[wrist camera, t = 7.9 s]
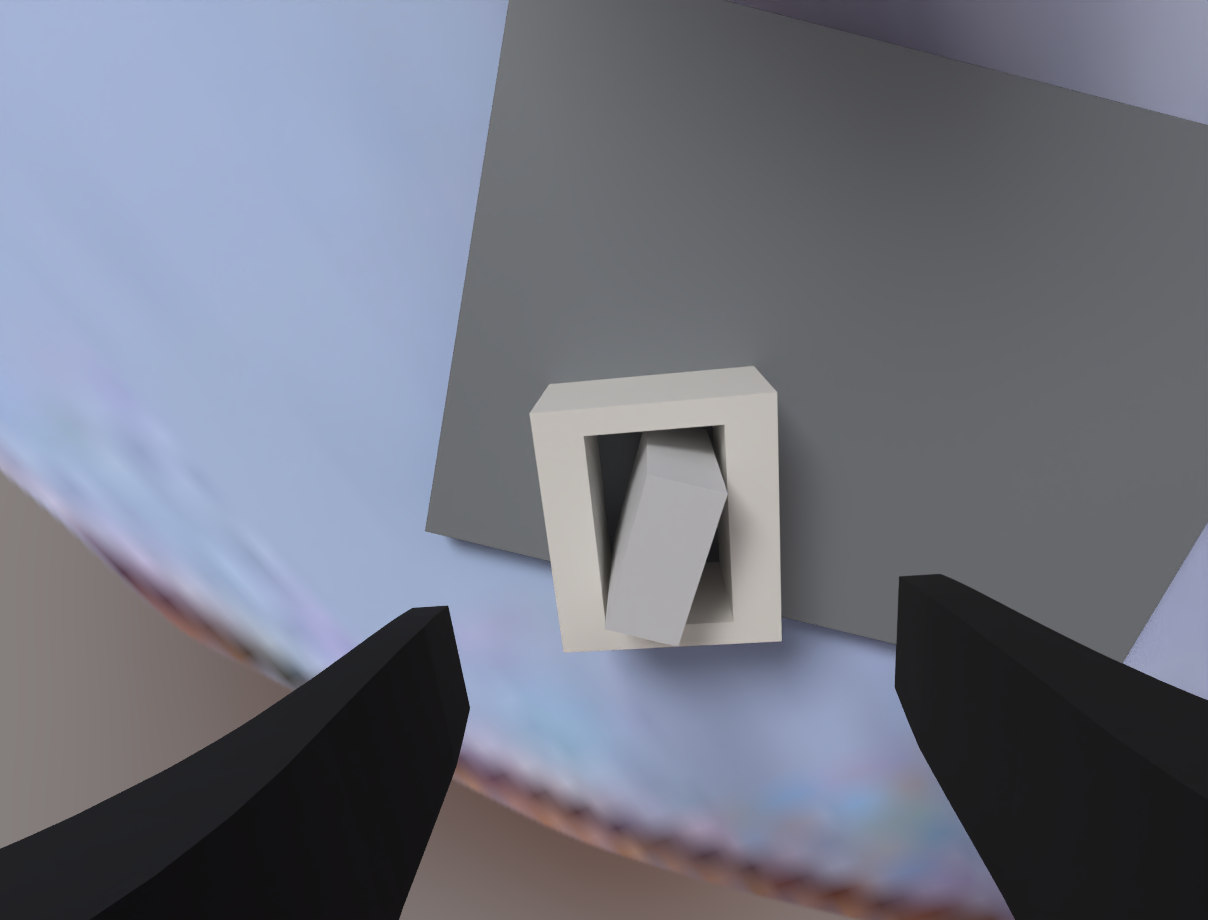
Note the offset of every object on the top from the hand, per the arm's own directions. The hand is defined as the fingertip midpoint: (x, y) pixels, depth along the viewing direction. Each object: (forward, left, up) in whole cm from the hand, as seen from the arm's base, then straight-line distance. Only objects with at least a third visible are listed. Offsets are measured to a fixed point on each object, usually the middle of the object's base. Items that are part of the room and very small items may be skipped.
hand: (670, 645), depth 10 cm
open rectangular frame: (0, 0, -7) cm, 7 cm away
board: (-4, -4, -8) cm, 10 cm away
